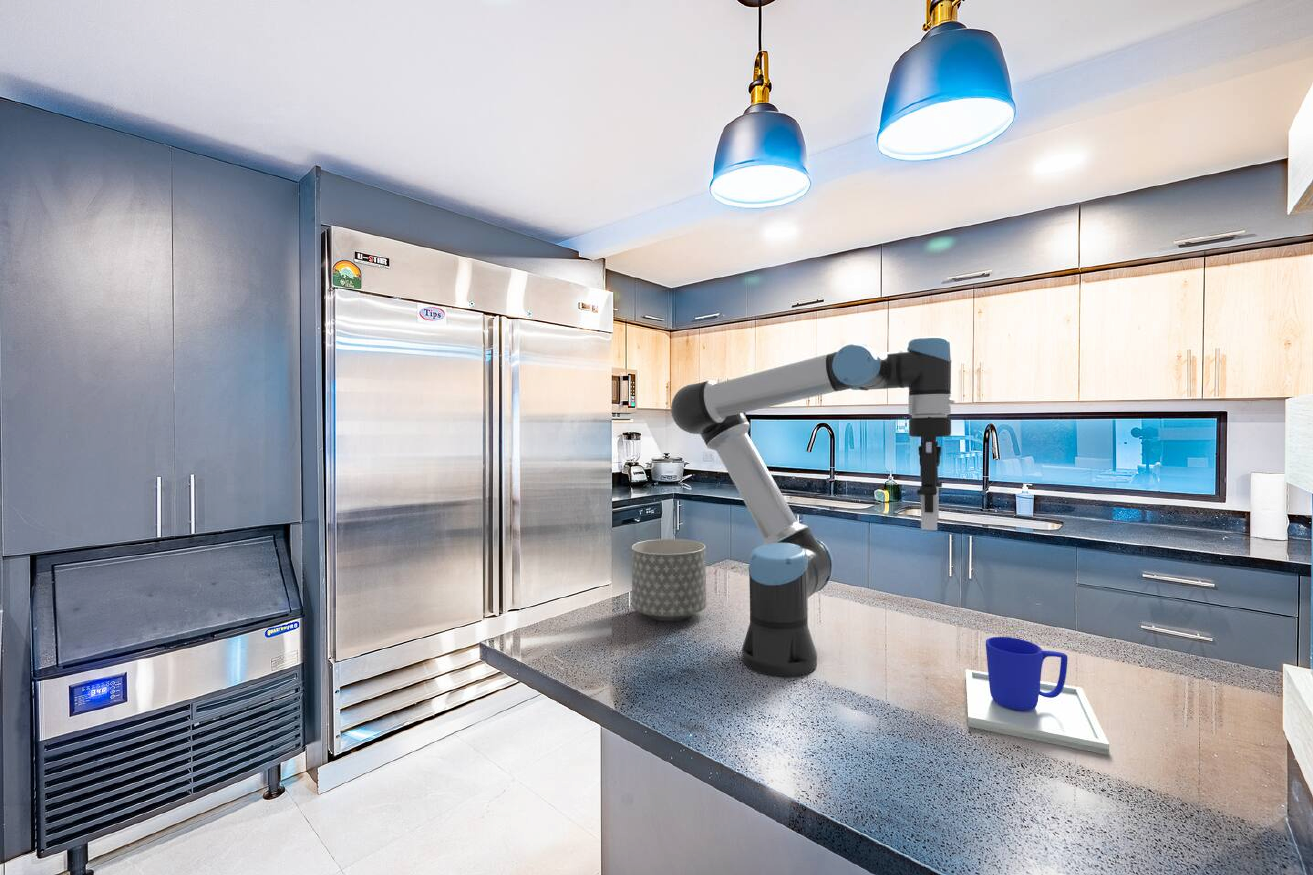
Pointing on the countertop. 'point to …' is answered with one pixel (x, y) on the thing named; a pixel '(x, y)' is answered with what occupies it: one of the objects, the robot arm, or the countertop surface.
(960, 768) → the countertop surface
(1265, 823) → the countertop surface
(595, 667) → the countertop surface
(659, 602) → the planter
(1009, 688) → the mug
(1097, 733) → the tray
